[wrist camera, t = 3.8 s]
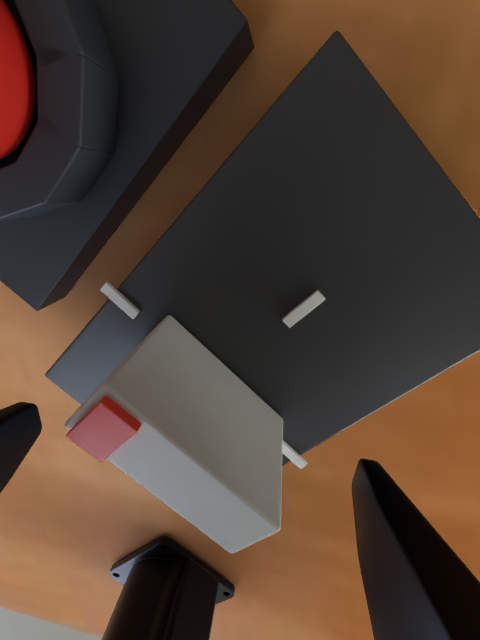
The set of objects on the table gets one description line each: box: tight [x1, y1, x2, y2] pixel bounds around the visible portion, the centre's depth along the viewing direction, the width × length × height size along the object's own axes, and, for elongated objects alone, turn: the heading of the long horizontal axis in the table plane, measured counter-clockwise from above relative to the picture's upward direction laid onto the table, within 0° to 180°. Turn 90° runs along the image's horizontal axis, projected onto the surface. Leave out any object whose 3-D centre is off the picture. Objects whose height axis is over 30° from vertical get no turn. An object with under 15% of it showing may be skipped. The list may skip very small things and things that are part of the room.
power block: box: [0, 0, 254, 311], centre depth 9 cm, size 12×9×4 cm
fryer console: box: [45, 31, 480, 469], centre depth 12 cm, size 14×10×3 cm
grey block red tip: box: [65, 315, 283, 554], centre depth 9 cm, size 6×2×4 cm, turn 45°
